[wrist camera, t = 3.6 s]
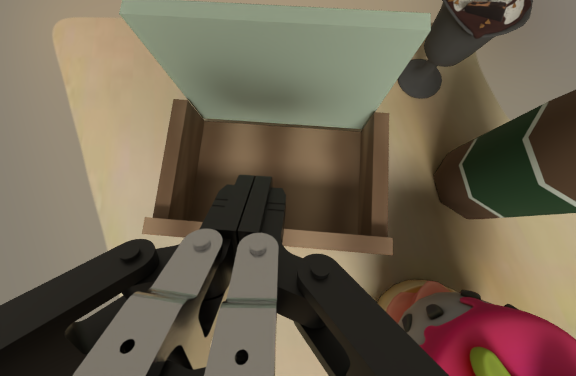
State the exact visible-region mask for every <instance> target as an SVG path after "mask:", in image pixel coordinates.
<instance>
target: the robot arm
mask: <svg viewBox="0 0 576 376" xmlns="http://www.w3.org/2000/svg"><path fill="white" fill-rule="evenodd" d="M285 211H286V194H285V192H284V190H283V188H273V179H272V177H270V176H255V175H239V176H238V178H237V180H236V182H235V185H229V184H227V185H226V186H224V187H223V188H222V189H221V190H219V192H218V194H217V196H216V198H215V200H214V202H213V204H212V206H211V207H210V209H209V211H208V213H207V215H206V217H205V219H204V221H203V223H202V225H201V227H200V229H199V230H196V231H194V232H192V233H190V234H188V235H187V236H186V237H185V238H184V239H183V240H182V242H181V243H180V244H179V245H176V246H170V247H165V248H159V249H155V246H154V244H153V243H152V242H151V241H149V240H146V239H135V240H131V241H128V242H125V243H123V244H121V245H119V246H117V247H115V248H113V249H111V250H109V251H107V252H105V253H103V254H101V255H99V256H97V257H96V258H94V259H91V260H89V261H87V262H86V263H84V264H82V265H80V266H78V267H76V268H74V269H72V270H70V271H68V272H66V273H64V274H62V275H60V276H58V277H56V278H54V279H52V280H50V281H48V282H46V283H44V284H42V285H40V286H38V287H36V288H34V289H32V290H30V291H28V292H26V293H24V294H22V295H20V296H18V297H16V298H14V299H12V300H10V301H8V302H6V303H4V304H2V305H0V376H275V354H276V321H277V313H278V314H280V315H282V316H284V317H286V318H289V319H291V320H293V321H294V323H295V325H296V327H297V329H298V330H299V332H300V333H301V335H302V336H303V338H304V339H305V341H306V342H307V344H308V345H309V347H310V348H311V350H312V351H313V353H314V354H315V356H316V357H317V359H318V360H319V362H320V363H321V365H322V366H323V368H324V369H325V371H326V372H327V374H328V375H329V376H449V375H448V374H447V373H446V372H445V371H444V370H443V369H442V368H441V367H440V366H439V365H438V364H437V363H436V362H435V361H434V360H433V359H432V358H431V357H430V356H429V355H428V354H427V353H426V352H425V351H424V350H423V349H422V348H421V347H420V346H419V345H418V344H417V343H416V342H415V341H414V340H413V339H412V338H411V337H410V336H409V335H408V334H407V333H406V332H405V331H404V330H403V329H402V328H401V327H400V325H399V324H398V323H397V322H396V321H395V320H394V319H393V318H392V317H391V316H390V315H389V314H388V313H387V312H386V311H385V310H384V309H383V308H382V307H381V306H380V305H379V304H378V303H377V302H376V301H375V300H374V299H373V298H372V297H371V296H370V295H369V294H368V293H367V292H366V291H365V290H364V289H363V288H362V287H361V286H360V285H359V284H358V283H357V282H356V281H355V280H354V279H353V278H352V277H351V276H350V275H349V274H348V273H347V272H346V271H345V270H344V269H343V268H342V267H341V266H340V265H339V264H338V263H337V262H336V261H335V260H334V259H332V258H331V257H329V256H326V255H323V254H311V255H308V256H306V257H304V258H301V257H298V256H295V255H293V254H291V253H290V252H288V251H287V250H286V249H285V248H284V246H283V245H282V243H283V234H284V226H285ZM120 293H122V294H123V295H124V296H122V297H120V298H119V299H117V300H116V301H114V302H112V303H111V304H109V305H108V306H106V307H105V308H103V309H101V310H100V311H98V312H97V313H95V314H93V315H92V316H90V317H89V318H87V319H85V320H83V321H80V322H75V321H76V320H78V319H79V318H81V317H82V316H84V315H86V314H88V313H89V312H91V311H92V310H94V309H96V308H97V307H99V306H100V305H102V304H104V303H105V302H107V301H109V300H110V299H112V298H113V297H115V296H117V295H118V294H120ZM212 338H213V339H212ZM211 341H212V343H211ZM210 345H211V348H210Z"/></svg>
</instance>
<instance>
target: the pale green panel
mask: <svg viewBox="0 0 576 376" xmlns="http://www.w3.org/2000/svg"><path fill="white" fill-rule="evenodd" d="M119 14H120V15H121V17H122V18H123V19H124V20H125V22H126V23H127V24H128V25H129V26H130V28H131V29H132V30H133V31H134V33H135V34H136V35H137V36H138V38H139V39H140V40H141V41H142V43H143V44H144V45H145V46H146V48H147V49H148V50H149V51H150V53H151V54H152V55H153V56H154V58H155V59H156V60H157V61H158V63H159V64H160V65H161V66H162V68H163V69H164V70H165V71H166V73H167V74H168V75H169V76H170V78H171V79H172V80H173V81H174V83H175V84H176V85H177V86H178V88H179V89H180V90H181V91H182V93H183V94H184V95H185V96H186V98H187V99H188V100H189V101H190V103H191V104H192V105H193V106H194V108H195V109H196V110H197V111H198V113H199V114H200V115H201V116H202V118H207V119H222V120H237V121H251V122H266V123H281V124H295V125H310V126H325V127H339V128H354V129H363V128H364V127H365V125H366V124H367V122H368V121H369V119H370V118H371V116H372V115H373V113H374V112H375V111H376V110H377V108H378V107H379V105H380V104H381V102H382V101H383V99H384V98H385V96H386V95H387V94H388V92H389V91H390V89H391V88H392V86H393V85H394V83H395V82H396V80H397V79H398V78H399V76H400V75H401V73H402V72H403V70H404V69H405V67H406V66H407V64H408V63H409V62H410V60H411V59H412V57H413V56H414V54H415V53H416V51H417V50H418V48H419V47H420V46H421V44H422V43H423V41H424V40H425V38H426V37H427V35H428V34H429V32H430V31H431V13H417V12H416V13H415V12H398V11H377V10H359V9H338V8H318V7H300V6H281V5H261V4H242V3H221V2H201V1H182V0H122V4H121V8H120V13H119Z"/></svg>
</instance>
